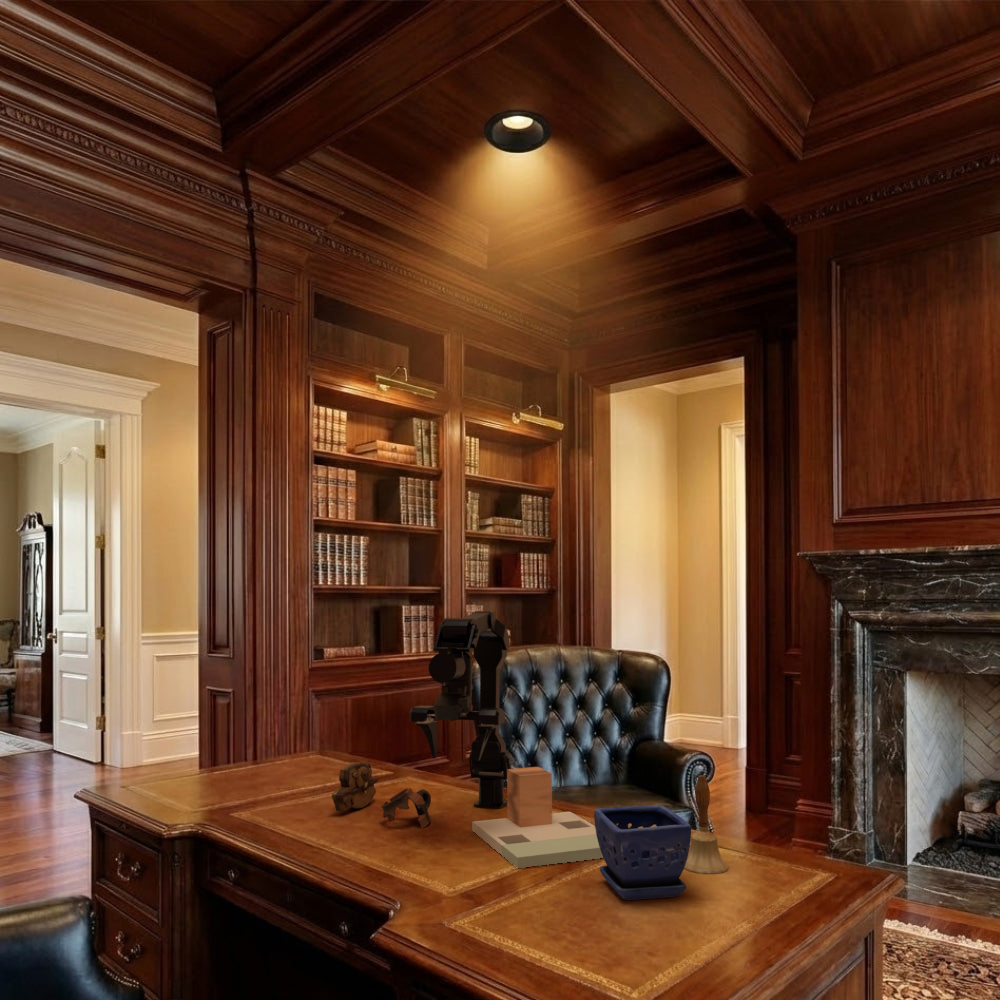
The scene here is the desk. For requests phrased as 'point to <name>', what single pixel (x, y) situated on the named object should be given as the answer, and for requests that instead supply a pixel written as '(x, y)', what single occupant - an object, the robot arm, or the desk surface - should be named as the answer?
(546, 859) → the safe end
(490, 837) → the plate
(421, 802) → the brown arched piece
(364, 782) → the wooden carving
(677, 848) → the flower pot
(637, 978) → the desk surface
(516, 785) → the terracotta block
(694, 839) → the hand bell
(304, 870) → the desk surface
